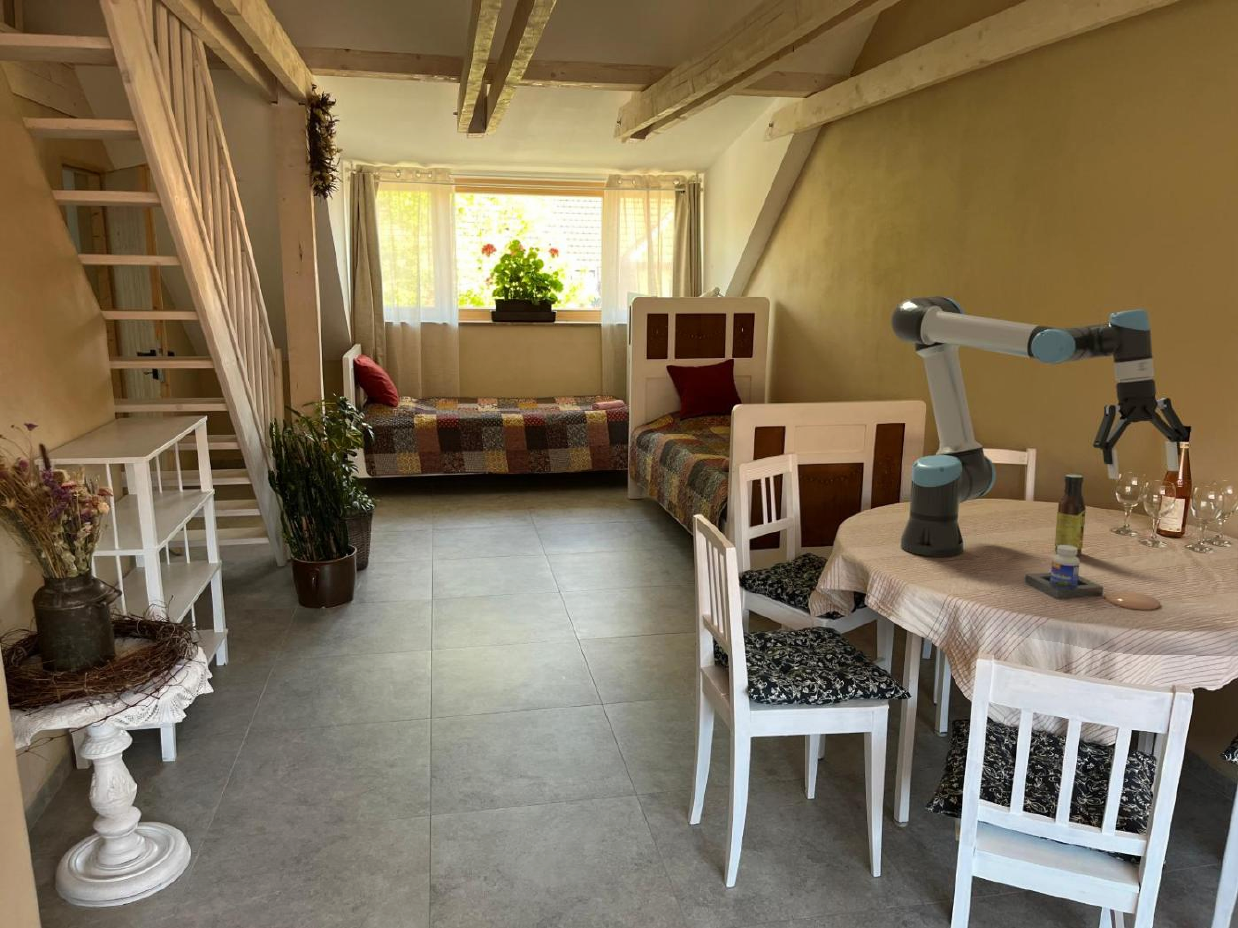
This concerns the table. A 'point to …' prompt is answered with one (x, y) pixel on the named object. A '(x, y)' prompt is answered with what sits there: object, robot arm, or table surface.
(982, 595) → the table surface
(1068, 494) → the sauce bottle
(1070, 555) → the pill bottle
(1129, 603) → the coaster
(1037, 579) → the socket plate
